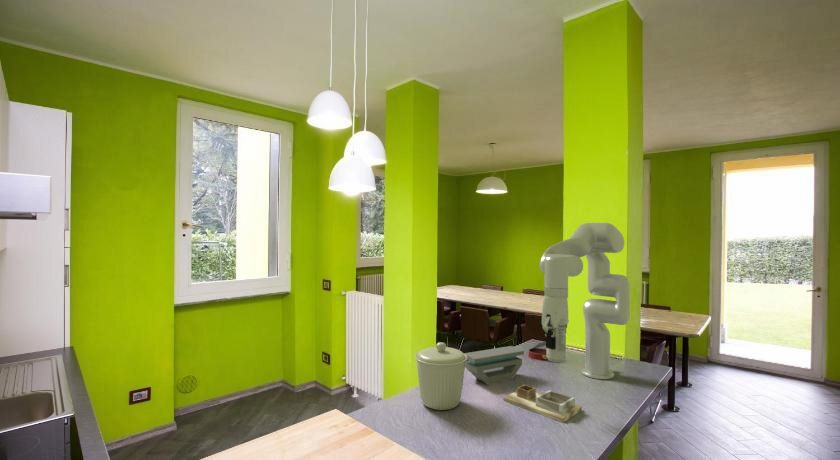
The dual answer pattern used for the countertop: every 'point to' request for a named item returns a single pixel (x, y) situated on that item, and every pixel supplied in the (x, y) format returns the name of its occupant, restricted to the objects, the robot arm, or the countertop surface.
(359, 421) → the countertop surface
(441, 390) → the canister
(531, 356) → the canned food
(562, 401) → the wooden organizer tray
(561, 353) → the energy drink can
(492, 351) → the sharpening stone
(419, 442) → the countertop surface
